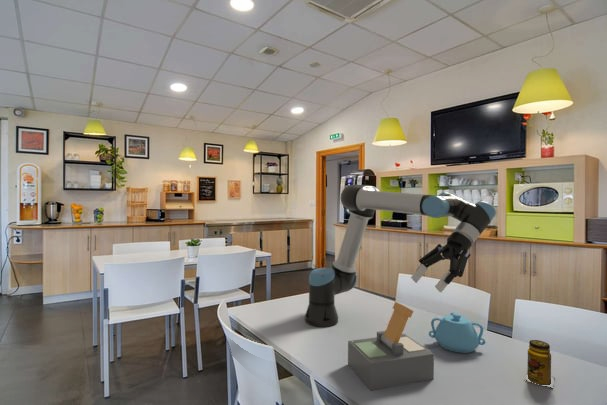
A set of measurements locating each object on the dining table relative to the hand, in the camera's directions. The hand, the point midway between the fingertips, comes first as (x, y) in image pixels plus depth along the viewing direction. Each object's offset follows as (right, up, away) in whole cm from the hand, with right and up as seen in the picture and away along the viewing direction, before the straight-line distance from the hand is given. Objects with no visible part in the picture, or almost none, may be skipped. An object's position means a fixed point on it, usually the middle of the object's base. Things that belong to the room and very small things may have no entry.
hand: (425, 284), depth 113 cm
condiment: (+33, -28, -8) cm, 44 cm away
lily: (-6, -27, +18) cm, 33 cm away
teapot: (+18, -28, +17) cm, 37 cm away
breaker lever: (-14, -19, -4) cm, 24 cm away
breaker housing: (-13, -27, -4) cm, 31 cm away
